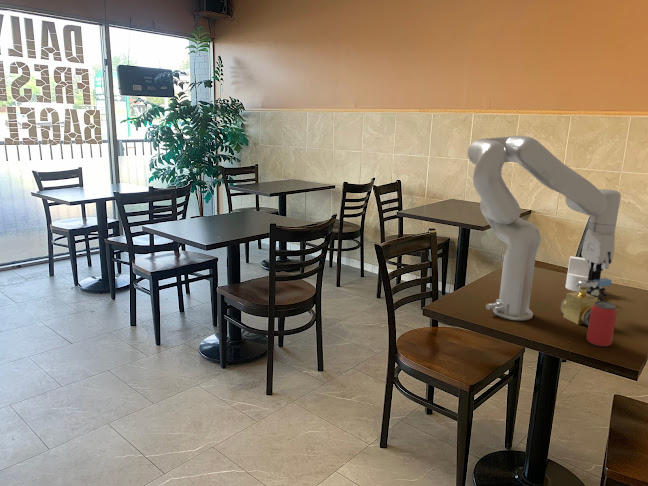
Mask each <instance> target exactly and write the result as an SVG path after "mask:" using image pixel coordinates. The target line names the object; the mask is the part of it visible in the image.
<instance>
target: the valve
mask: <svg viewBox="0 0 648 486" xmlns="http://www.w3.org/2000/svg"><path fill="white" fill-rule="evenodd" d="M600 279H602V277H601V276H600ZM605 291H606V287H605V286H601V287H598V286H592V287H590V288H589V291H588V290H587V291H586V293H587V294H589V295H592V296H594V297H596V298H598V300H599V301H604V298H603V297H607V296H608V294H607V293H606V292H605ZM604 292H605V293H604ZM600 293H601V294H600ZM599 295H600V296H599Z"/></svg>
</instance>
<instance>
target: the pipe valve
mask: <svg viewBox="0 0 648 486" xmlns="http://www.w3.org/2000/svg"><path fill="white" fill-rule="evenodd" d="M586 291H587V288H581V287H580V290H579V292H576V291H572V292H567V293H566V296H565V298H564V299H563V300H562V301H561V302H560V311H561V313H562V314H563V318H564V319H566V320H568V321H570V322H572V323H574V324H576V325H586V326H589V320H590V314H591V309H592V307H593V305H594V303H595V302H597V301H599V299H598V297H597V296H596V297H595V295H590V294H587V293H586Z"/></svg>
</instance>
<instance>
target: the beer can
mask: <svg viewBox="0 0 648 486" xmlns="http://www.w3.org/2000/svg"><path fill="white" fill-rule="evenodd" d="M616 308H617V307H616V305H615V304H614V303H611V302H609V301H608V302H607V301H604V300H603V301H600V300H598V301H597V302H595V303H594V305H593V307H592V309H591V314H590V320H589V326H588V325H587V326H588V327H587V332H586V341H587V342H588V343H590V344H591V345H593V346H597V347H609V346H611V345H612V342H613V338H614V332H615V327H616V326H615V325H616V320H617V309H616Z"/></svg>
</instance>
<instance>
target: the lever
mask: <svg viewBox="0 0 648 486" xmlns="http://www.w3.org/2000/svg"><path fill="white" fill-rule="evenodd" d="M612 281H613V280H612V279H610V278H607V277H603V278H602V277H601V279H594V280H590V281H586V280H579V281H578V285H577V286H578V287H581V288H590V287H592V286H598V287H601V288H602V287H611V285H612Z"/></svg>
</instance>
